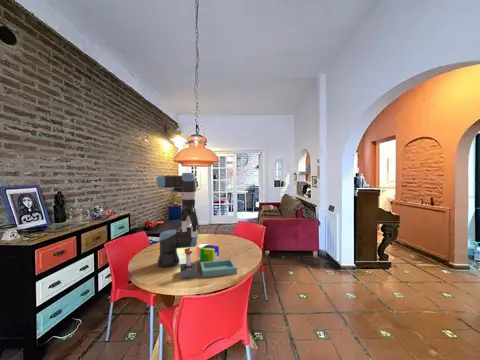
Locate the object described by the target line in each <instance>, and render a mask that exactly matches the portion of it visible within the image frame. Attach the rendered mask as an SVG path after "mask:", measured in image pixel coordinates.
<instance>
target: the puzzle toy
mask: <svg viewBox="0 0 480 360" xmlns="http://www.w3.org/2000/svg"><path fill="white" fill-rule="evenodd" d="M219 255H220V248H219V245H218V246H217V245H210V244H205V245H204V246H203V247H201V248H200V249H199V257H200V258H199V260H200V262H208V261H218V260H220V256H219ZM200 262H199V263H200Z"/></svg>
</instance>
